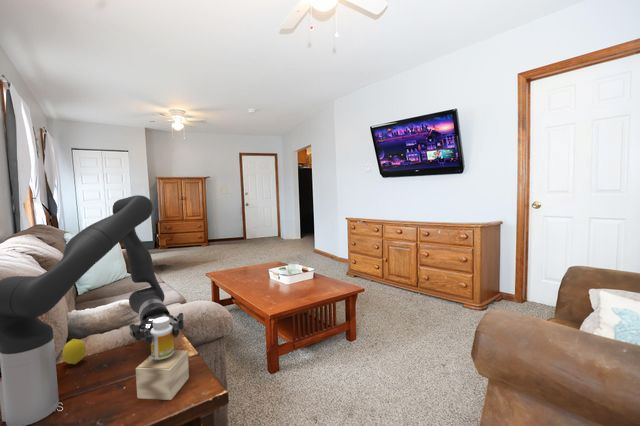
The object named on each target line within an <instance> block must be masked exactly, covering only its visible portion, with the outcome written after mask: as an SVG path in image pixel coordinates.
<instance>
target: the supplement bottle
mask: <svg viewBox="0 0 640 426" xmlns="http://www.w3.org/2000/svg"><path fill="white" fill-rule="evenodd" d="M150 332H151V335H152V344H150V353H151V355H150V356H152V358H153V359H156V360H160V359H165V358H167V357H169V356H171V355H172V354H173V353H174V350H175V345H174V343H175V342H174V335H173V327H172V326H171V325H170V319H169V317H159V318H156V319H154V320H153V328H152V329H151V331H150Z"/></svg>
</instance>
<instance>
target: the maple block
mask: <svg viewBox="0 0 640 426" xmlns="http://www.w3.org/2000/svg"><path fill="white" fill-rule="evenodd" d="M189 369H190V368H189V352H188V350H181V349H174V353H173V354H172V355H171V356H169V357H167V358H165V359H160V360H156V359H153V358H152V356H151V355H149V356H148V357H147V358H145V360H144V361H143V362H141V363H140V364H139V365H138V366H137V367H135V379H136V380H135V382H136V383H135V384H136V394H137V395H136V397H137V399H141V400H162V401H163V400H164V401H165V400H166V401H167V400H168V401H171V400H172V399H173V398H175V396H176V395H177V394H178V392H179V391H180V390H181V389H182V387H183V386H184V385H185V383H186V382H187V381H188V380H189V378H190V375H189V374H190V373H189V371H190V370H189Z"/></svg>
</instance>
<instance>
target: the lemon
mask: <svg viewBox="0 0 640 426" xmlns="http://www.w3.org/2000/svg"><path fill="white" fill-rule="evenodd" d="M86 351H87V349H86V344H85V342H84V341H83V340H81V339H76V338H71V340H69V341H68V342H67V343H65V344H64V347H63V348H62V354H61V356H62V359H63V361H64V362H65V363H67V364H72V365H76V364H78V363H79V362H80V361H82V360H83V359H84V357H85V356H86V355H85V354H86Z"/></svg>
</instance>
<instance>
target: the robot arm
mask: <svg viewBox="0 0 640 426" xmlns="http://www.w3.org/2000/svg"><path fill="white" fill-rule="evenodd" d="M153 210H154V205H153V202H152V200H151V199H150V198H149V197H147V196H145V195H140V194H139V195H137V194H136V195H132V196H128V197H124V198H121V199H118V200H116V201H115V202H114V203H113V206H112V215H108V216H107V217H105V218H103V219H100V220H98V221H96V222H94V223H92V224H90V225H88V226H86V227H85V228H83V229H81V230H80V231H79V232H78V233H77V234H75V235H74V236H73V237H71V238H70V239H69V240H68V242H67V243H66V245H65V248H64V251H63V255H62V258H61V259H60V260H59V261H58V263H56V264H55V265H53V266H52V267H50V269H49V270H47V271H45V272H43V273H42V274H40V275H36V276H35V275H33V276H32V275H30V276H29V275H28V276H27V275H25V276H24V275H21V276H20V275H16V276H15V275H14V276H8V277H4V278H3V279H0V373H1V380H0V412H1V421H2V422H5V424H6V426H28V425H33V424H34V423H37V422H39V421H41V420H43V419H45V418H47V417H49V415H51V414H52V413H53V412H56V410H57V408H58V406H59V403H60V401H59V388H58V387H59V386H58V378H57V375H58V374H57V364H56V351H55V338H54V336H55V335H54V329H53V327H52V326H51V325H50V324H49V323H47V322H44V321H43V320H41V319H40V318H39V317H40V316H43V315H45V314H47V313H49V312H50V311H51V310H52V309H54V307H55V306H57V305H58V303H59V302H60V301H61V300H62V299H63V298H64V297H65V296H66V294H67V293H68V292H69V291H70V290H71V288H73V286H74V285H75V284H77V282H78V281H79V280H80V279H81V278H82V277H83V276H84V275H85V274H86V273H87V272H88V271H89V270H91V268H92V267H93V266H95V264H97V263H98V262H99V261H100V260H101V259H103V258H104V257H105V256H106V255H108V253H109V252H111V250H112V249H113V248H114V247H115V246H116V245H118V244H119V243H120V242H121V241H122V243H123V246H124V247H123V248H124V249H125V252H126V256H127V260H128V265H129V266H128V267H129V270H130V271H129V272H130V277H131V281H132V282H133V283H135V284H138V283H139V284H140V283H141V284H142V283H146V284H149V285H150V287H146V288H141V289H138V290H135V291H133V292H132V293H131V294H130V295H129V297H128V304H129V306H130V308H131V309H132V311H133V312H135V313H136V314H138V319H139V321H140V323H139V324H135V323H131V324H129V335H130V336H131V337H132V338H133V339H134V340H135V341H140V340H141V339H143V340H144V343H146V344H148V345H151V344H152V335H151V332H150V331H151V329H152V328H153V320H154V319H156V318H159V317H169V319H170V325H171V326H172V327H173V338H177V337H178V335H180V330H183V329H184V327H185V324H184V323H185V322H184V313H183V312H180V313H178V314H177V315H176V316H174V315H172V314H171V313H170V311H169V310H168V308H167V306H166V304H165V303H164V301H165V297H166V296H165V293H164V290H163V288H162V286H161V285H160V284H159V283H160V282H159V281H158V280H157V276H156V274H155V270H154V263H153V258H152V255H151V253H150V251H149V249H148V248H147V247H146V245H144V243H143V242H142V241H141V239H140V238H139V236H138V233H137V231H136V227H138V226H139V225H141V224H142V223H144V222H146V221H147V220H148V219H149V218H150V217H151V216H152V214H153Z"/></svg>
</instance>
